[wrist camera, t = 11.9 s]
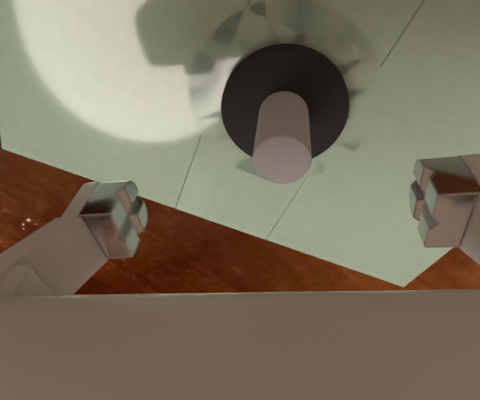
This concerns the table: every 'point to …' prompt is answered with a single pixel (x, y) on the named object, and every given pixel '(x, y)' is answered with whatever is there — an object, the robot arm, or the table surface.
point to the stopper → (284, 109)
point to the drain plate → (210, 119)
